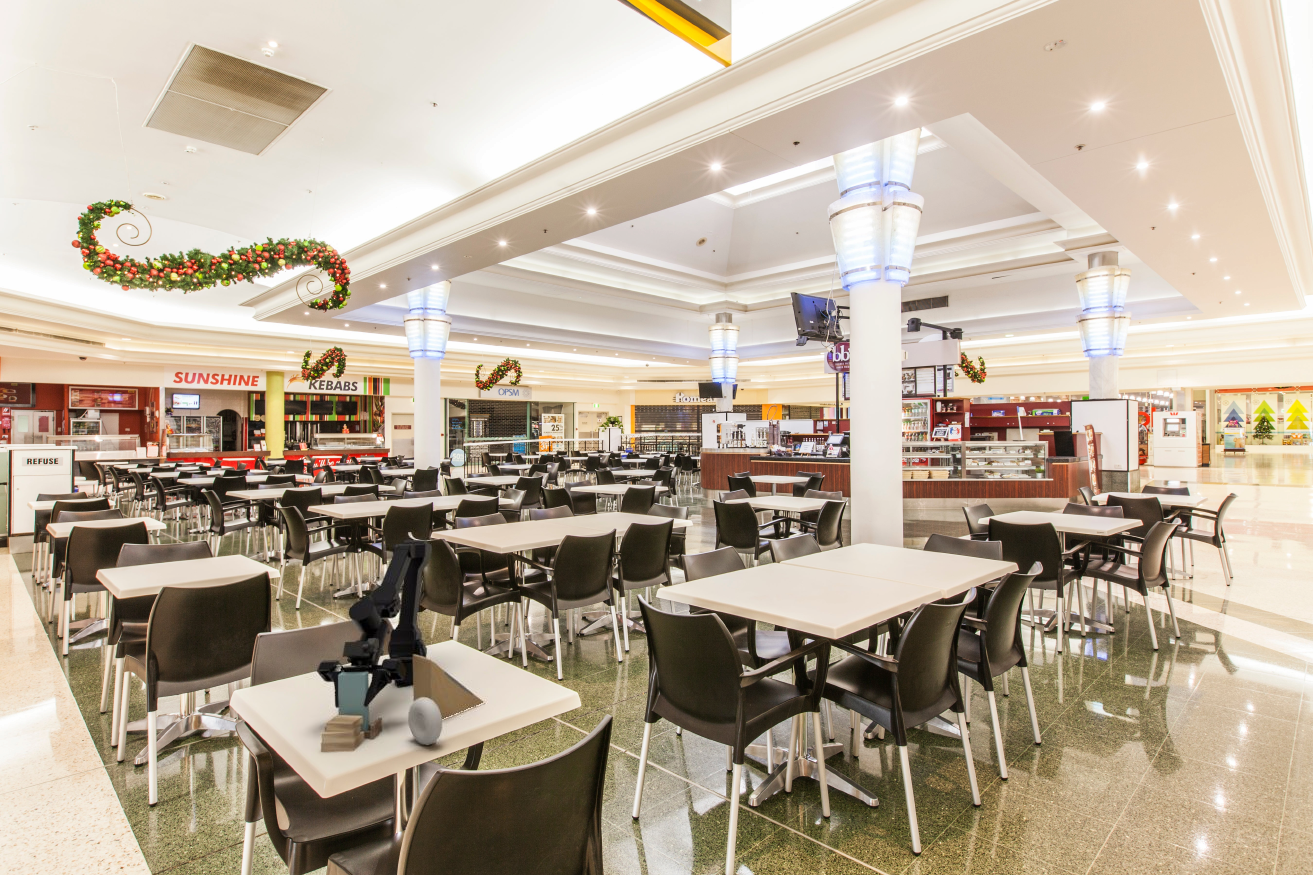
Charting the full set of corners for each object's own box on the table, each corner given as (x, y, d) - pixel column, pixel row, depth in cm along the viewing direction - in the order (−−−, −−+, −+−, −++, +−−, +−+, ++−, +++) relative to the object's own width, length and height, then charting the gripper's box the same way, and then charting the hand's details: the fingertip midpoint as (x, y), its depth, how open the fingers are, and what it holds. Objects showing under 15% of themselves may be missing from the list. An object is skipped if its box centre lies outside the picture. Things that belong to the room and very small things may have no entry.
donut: (405, 740, 140) (404, 695, 140) (419, 734, 143) (418, 690, 143) (432, 752, 134) (431, 705, 134) (446, 746, 137) (445, 699, 137)
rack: (334, 731, 145) (334, 718, 145) (382, 730, 145) (382, 717, 146) (325, 740, 141) (325, 727, 141) (373, 739, 141) (373, 725, 141)
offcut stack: (332, 741, 141) (332, 714, 141) (364, 740, 141) (364, 714, 141) (319, 752, 135) (319, 725, 136) (353, 751, 136) (353, 724, 136)
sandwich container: (487, 703, 160) (486, 644, 161) (432, 724, 148) (431, 660, 149) (467, 695, 166) (466, 638, 166) (413, 715, 154) (412, 653, 154)
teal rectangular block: (342, 734, 144) (342, 672, 144) (369, 733, 144) (368, 671, 144) (338, 737, 142) (338, 675, 142) (365, 736, 142) (364, 674, 143)
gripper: (320, 626, 147) (294, 691, 136) (400, 623, 148) (381, 689, 136) (337, 649, 155) (314, 713, 144) (413, 647, 155) (396, 711, 144)
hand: (350, 706), depth 142 cm, fingers closed on teal rectangular block, 6 cm apart
